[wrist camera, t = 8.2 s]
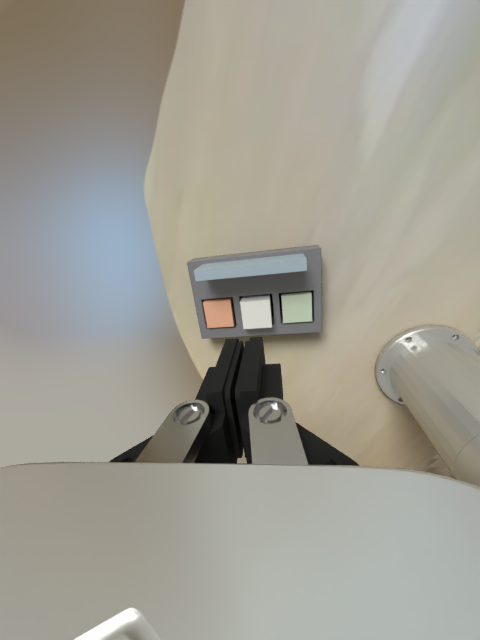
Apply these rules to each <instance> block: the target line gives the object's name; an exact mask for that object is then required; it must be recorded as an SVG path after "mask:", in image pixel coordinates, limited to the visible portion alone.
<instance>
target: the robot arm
mask: <svg viewBox="0 0 480 640" xmlns="http://www.w3.org/2000/svg"><path fill="white" fill-rule="evenodd" d="M375 374H376V379H377V382H378V384H379V386H380V387H381V389H382V391H383V392H384V393H385V394H386V395H387V396H388V397H389V398H391V399H392V400H393V401H395V402H397V403H399V404H403V405H406V406H407V407H408V409H409V410H410V412H411V413H412V415H413V416H414V418H415V419H416V421H417V422H418V424H419V425H420V426H421V428H422V429H423V431H424V432H425V434H426V435H427V437H428V438H429V440H430V441H431V443H432V444H433V446H434V447H435V449H436V450H437V452H438V453H439V455H440V456H441V458H442V459H443V460H444V462H445V463H446V465H447V466H448V468H449V469H450V471H451V472H452V474H453V475H454V477H455V478H456V479H454V478H451V477H447V476H443V475H438V474H433V473H428V472H424V471H418V470H410V469H401V468H390V467H370V466H359V465H358V464H357V463H356V462H355V461H353V460H352V459H351V458H349V457H348V456H346V455H345V454H343V453H342V452H340V451H339V450H337V449H336V448H334V447H332V446H331V445H329V444H328V443H326V442H325V441H323V440H322V439H320V438H319V437H317V436H316V435H314V434H313V433H311V432H310V431H308V430H307V429H305V428H304V427H302V426H301V425H299V424H298V423H296V422H295V419H294V416H293V413H292V409H291V407H290V405H289V404H288V403H287V402H285V401H284V400H283V388H282V376H281V366H280V364H265V355H264V347H263V339H262V337H255V338H250V341H246V343H245V347H244V345H243V341H241V342H239V340H238V339H226V341H225V343H224V346H223V349H222V351H221V354H220V356H219V359H218V362H217V364H216V367H210V368H209V369H208V371H207V373H206V376H205V378H204V380H203V383H202V385H201V387H200V390H199V392H198V394H197V397H196V399H195V400H189V401H185V402H183V403H181V404H179V405H178V406H176V407H175V408H174V409H173V410H172V411H171V412H170V414H169V415H168V416H167V418H166V419H165V420H164V422H163V423H162V425H161V426H160V427H159V429H158V430H157V432H156V433H155V435H153V436H151V437H150V438H148V439H146V440H145V441H143V442H142V443H139V444H138V445H136V446H134V447H133V448H131V449H129V450H128V451H126V452H124V453H122V454H121V455H119V456H117V457H115V458H114V459H113V460H111V461H110V462H52V463H51V462H50V463H29V464H19V465H11V466H6V467H1V468H0V640H480V356H479V352H478V350H477V348H476V346H475V344H474V343H473V342H472V341H471V340H470V339H469V338H468V337H467V336H465V335H464V334H462V333H461V332H459V331H457V330H455V329H453V328H449V327H446V326H438V325H429V326H421V327H417V328H413V329H410V330H408V331H405V332H403V333H402V334H400V335H398V336H396V337H395V338H394V339H392V340H391V341H390V342H389V343H388V344H387V345H386V346H385V347H384V348H383V350H382V351H381V353H380V355H379V356H378V359H377V362H376V367H375ZM243 447H244V452H245V457H246V459H247V464H237V458H241V457H242V455H243Z"/></svg>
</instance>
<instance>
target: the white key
mask: <svg viewBox="0 0 480 640" xmlns="http://www.w3.org/2000/svg"><path fill="white" fill-rule="evenodd" d="M240 306H241V314H242V322H243V329H255V328H271V327H272V308H271V296H270V294H262V295H250V296H242V298H241V301H240Z"/></svg>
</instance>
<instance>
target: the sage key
mask: <svg viewBox="0 0 480 640" xmlns="http://www.w3.org/2000/svg"><path fill="white" fill-rule="evenodd" d="M281 299H282V313H283V323H294V322H309V321H312V294H311V291H299V292H286V293H281Z"/></svg>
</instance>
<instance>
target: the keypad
mask: <svg viewBox="0 0 480 640" xmlns="http://www.w3.org/2000/svg"><path fill="white" fill-rule="evenodd" d="M187 265H188V270H189V275H190V280H191V285H192V291H193V296H194V301H195V306H196V311H197V316H198V321H199V327H200V332H201V337H202V339H207V338H224V337H241V336H259V335H276V334H294V333H311V332H322V298H321V248H320V247H319V246H318V245H313V246H303V247H294V248H285V249H276V250H267V251H258V252H249V253H240V254H231V255H222V256H213V257H204V258H195V259H192V260H191V261H189V262H187ZM299 291H311V294H312V321H309V322H294V323H283V316H281V315H280V301H279V293H286V292H299ZM262 294H272V298H273V310H274V317H272V327H271V328H255V329H243V322H242V314H241V306H240V301H241V298H242V296H250V295H262ZM226 297H233V303H234V310H235V317H236V322H235V325H234V326H232V327H217V328H207V322H206V317H205V312H204V306H203V302H204V301H205V299H214V298H226Z"/></svg>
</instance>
